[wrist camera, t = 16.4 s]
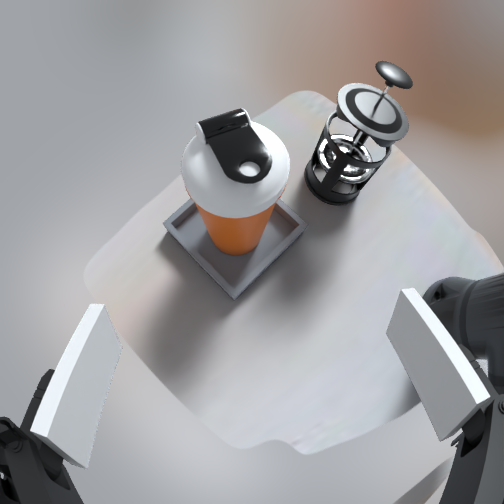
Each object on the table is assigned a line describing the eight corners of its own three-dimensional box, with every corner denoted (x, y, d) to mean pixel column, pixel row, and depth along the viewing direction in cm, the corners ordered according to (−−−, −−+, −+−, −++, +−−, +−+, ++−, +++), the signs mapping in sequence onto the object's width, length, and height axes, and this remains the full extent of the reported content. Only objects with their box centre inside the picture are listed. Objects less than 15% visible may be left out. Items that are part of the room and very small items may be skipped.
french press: (341, 220, 41) (425, 125, 18) (290, 184, 42) (333, 64, 19) (372, 171, 43) (442, 78, 21) (327, 139, 44) (374, 33, 22)
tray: (303, 232, 40) (307, 224, 37) (234, 300, 37) (234, 298, 34) (236, 171, 42) (236, 160, 39) (167, 230, 39) (162, 223, 36)
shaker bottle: (225, 275, 37) (213, 218, 17) (191, 221, 38) (155, 130, 19) (281, 240, 38) (321, 158, 19) (245, 190, 40) (252, 86, 21)
